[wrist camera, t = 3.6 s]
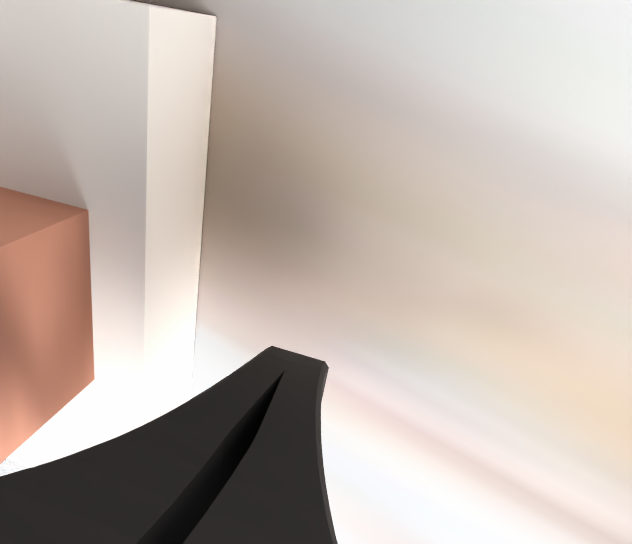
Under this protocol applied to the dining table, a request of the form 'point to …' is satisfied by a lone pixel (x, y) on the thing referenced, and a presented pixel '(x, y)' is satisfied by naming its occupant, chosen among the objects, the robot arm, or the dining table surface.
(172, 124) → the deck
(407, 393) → the dining table surface
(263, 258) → the dining table surface
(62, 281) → the block
